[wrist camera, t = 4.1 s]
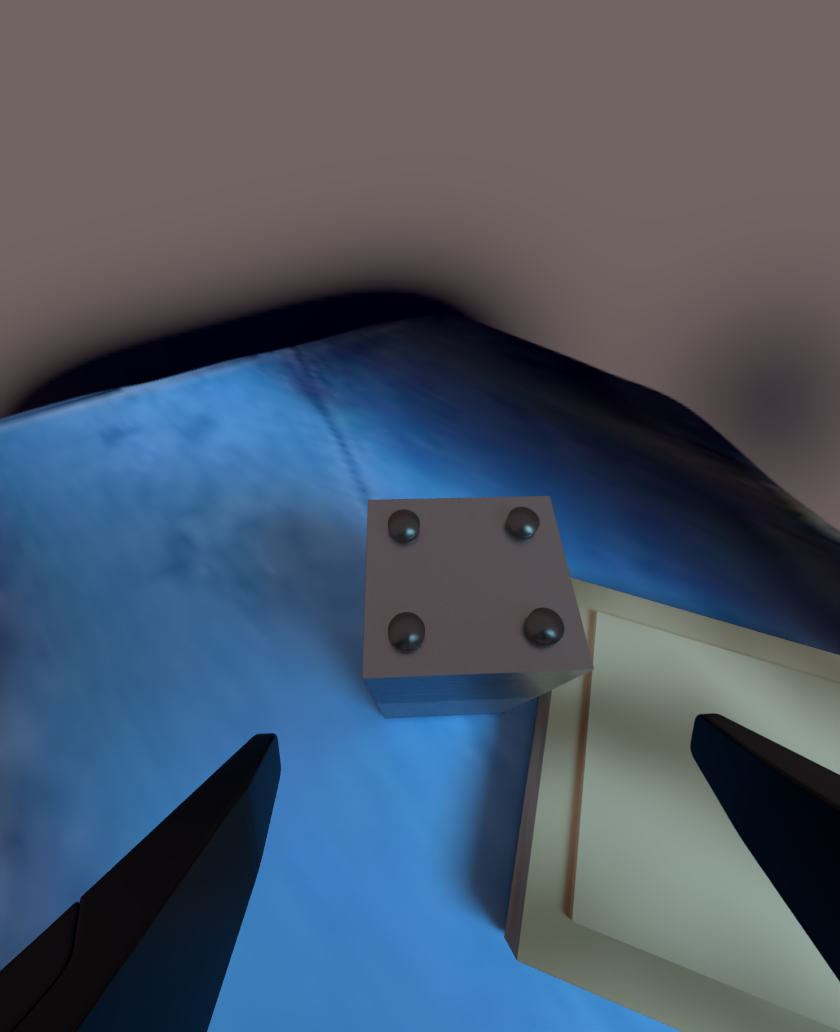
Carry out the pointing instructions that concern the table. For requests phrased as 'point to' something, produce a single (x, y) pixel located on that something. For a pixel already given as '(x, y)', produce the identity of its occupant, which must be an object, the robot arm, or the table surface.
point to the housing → (467, 606)
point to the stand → (668, 824)
